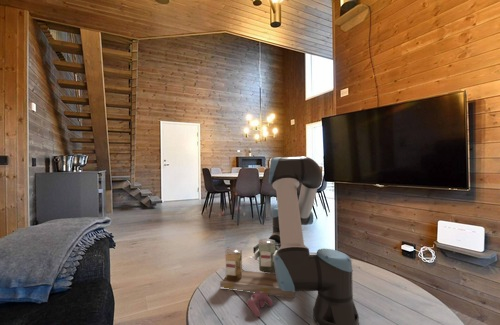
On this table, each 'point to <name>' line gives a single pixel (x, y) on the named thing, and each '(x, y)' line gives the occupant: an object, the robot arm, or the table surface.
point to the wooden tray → (257, 284)
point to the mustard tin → (233, 264)
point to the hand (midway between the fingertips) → (264, 257)
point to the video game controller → (259, 298)
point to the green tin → (266, 255)
